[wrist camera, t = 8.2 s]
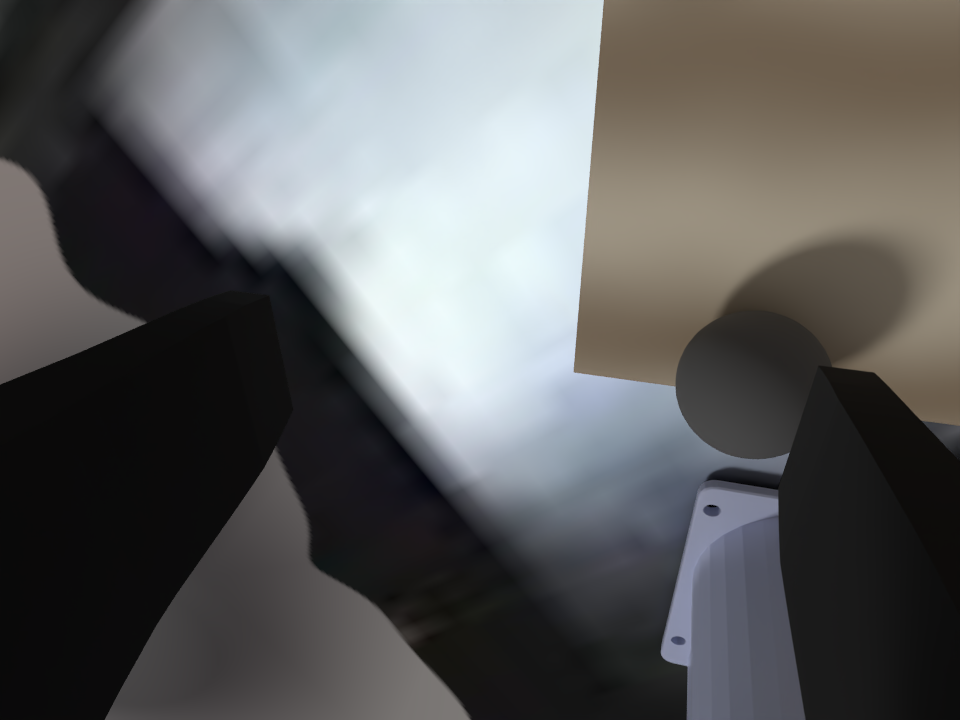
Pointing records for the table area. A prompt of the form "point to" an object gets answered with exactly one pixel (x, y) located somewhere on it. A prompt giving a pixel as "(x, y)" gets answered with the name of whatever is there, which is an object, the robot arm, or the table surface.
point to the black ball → (748, 382)
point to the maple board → (778, 185)
